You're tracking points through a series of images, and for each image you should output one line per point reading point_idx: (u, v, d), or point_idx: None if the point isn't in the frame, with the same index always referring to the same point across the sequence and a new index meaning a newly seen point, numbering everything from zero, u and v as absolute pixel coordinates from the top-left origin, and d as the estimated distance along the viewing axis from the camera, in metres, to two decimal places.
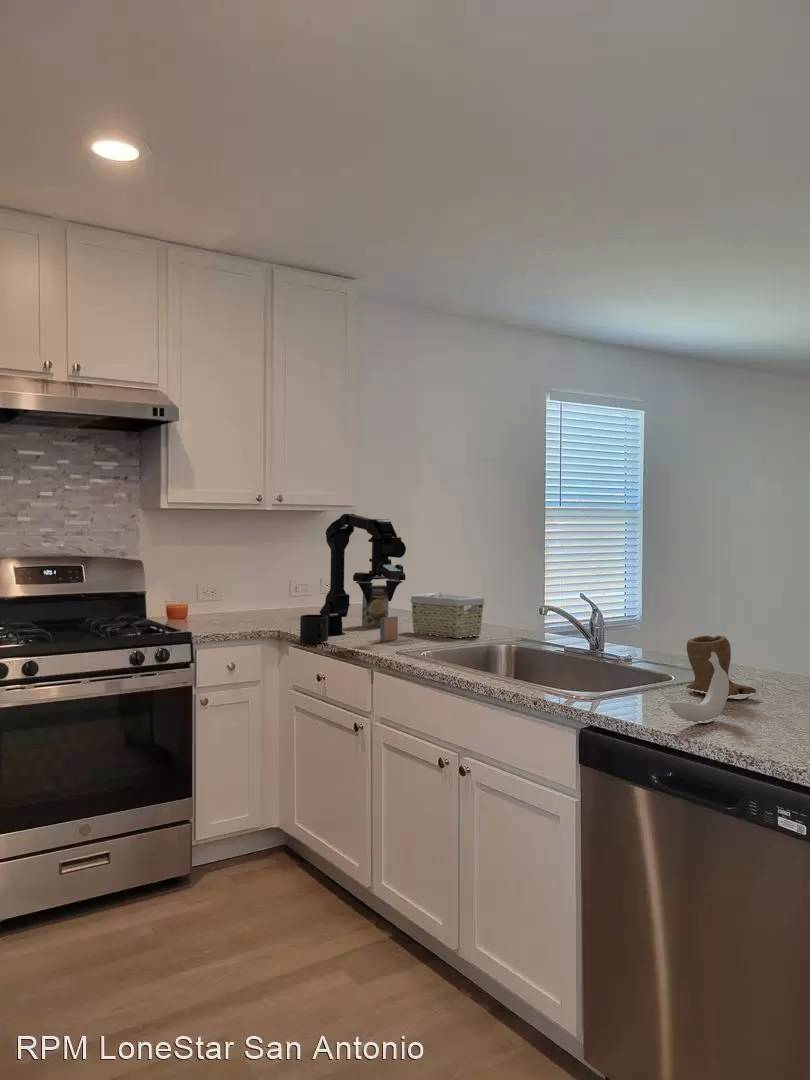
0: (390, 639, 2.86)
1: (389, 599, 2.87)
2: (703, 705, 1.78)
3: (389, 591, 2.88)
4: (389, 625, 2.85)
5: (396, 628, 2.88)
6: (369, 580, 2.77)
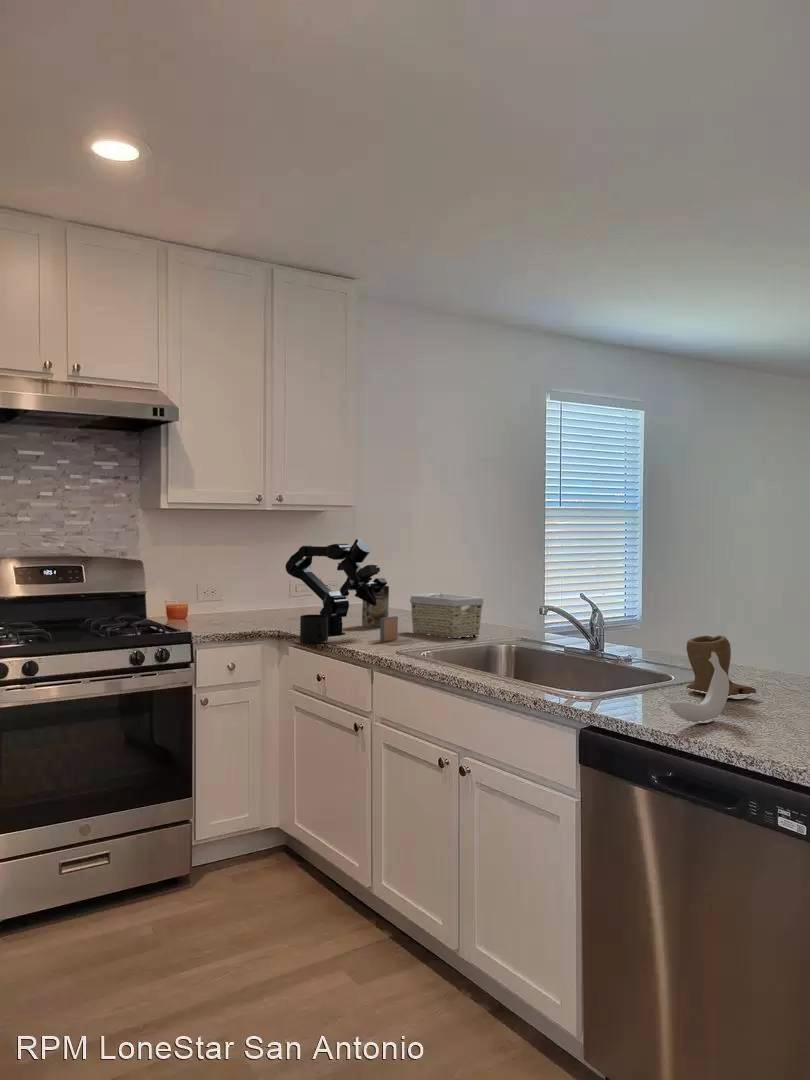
0: (390, 639, 2.86)
1: None
2: (703, 705, 1.78)
3: None
4: (389, 625, 2.85)
5: (396, 628, 2.88)
6: (355, 583, 2.88)
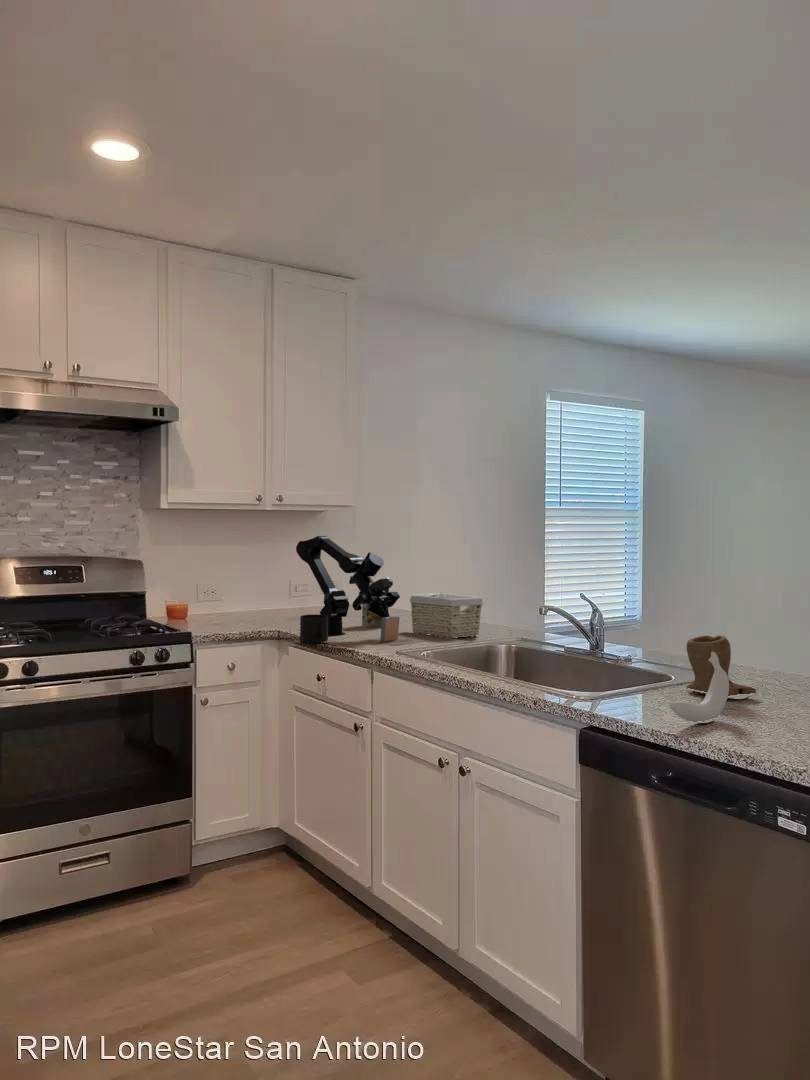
0: (390, 639, 2.86)
1: None
2: (703, 705, 1.78)
3: None
4: (390, 625, 2.85)
5: (397, 628, 2.88)
6: (367, 597, 2.84)
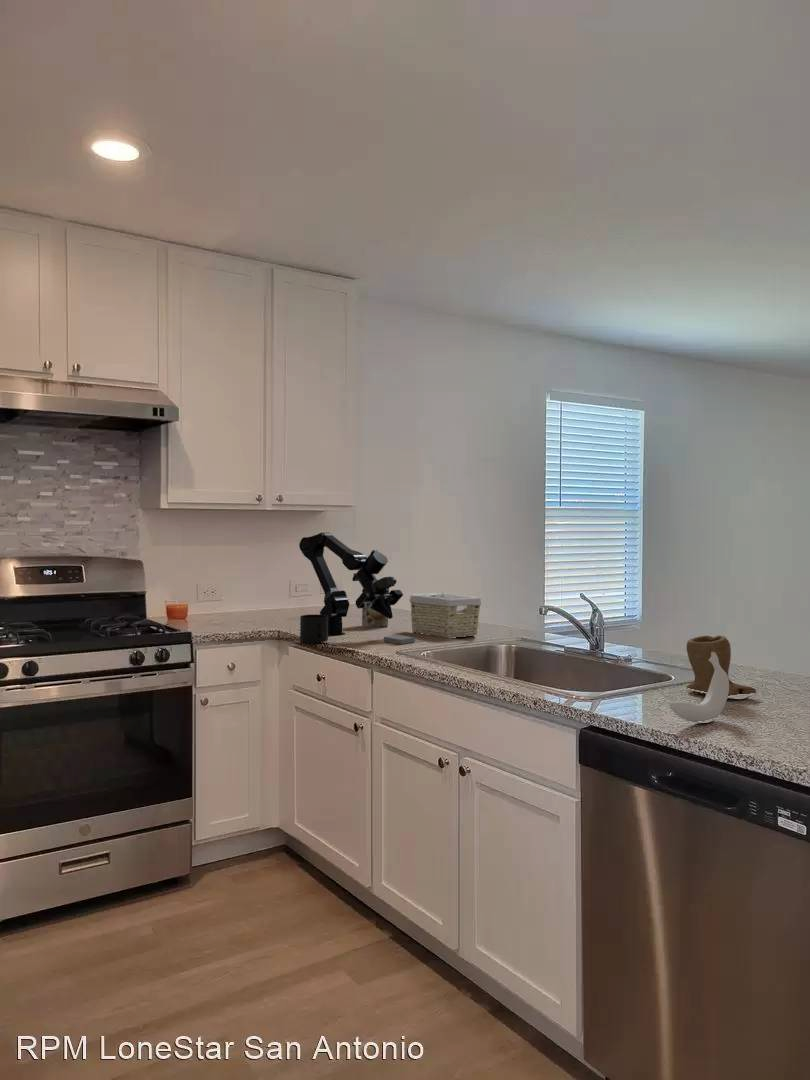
0: None
1: None
2: (703, 705, 1.78)
3: None
4: None
5: None
6: (371, 595, 2.83)
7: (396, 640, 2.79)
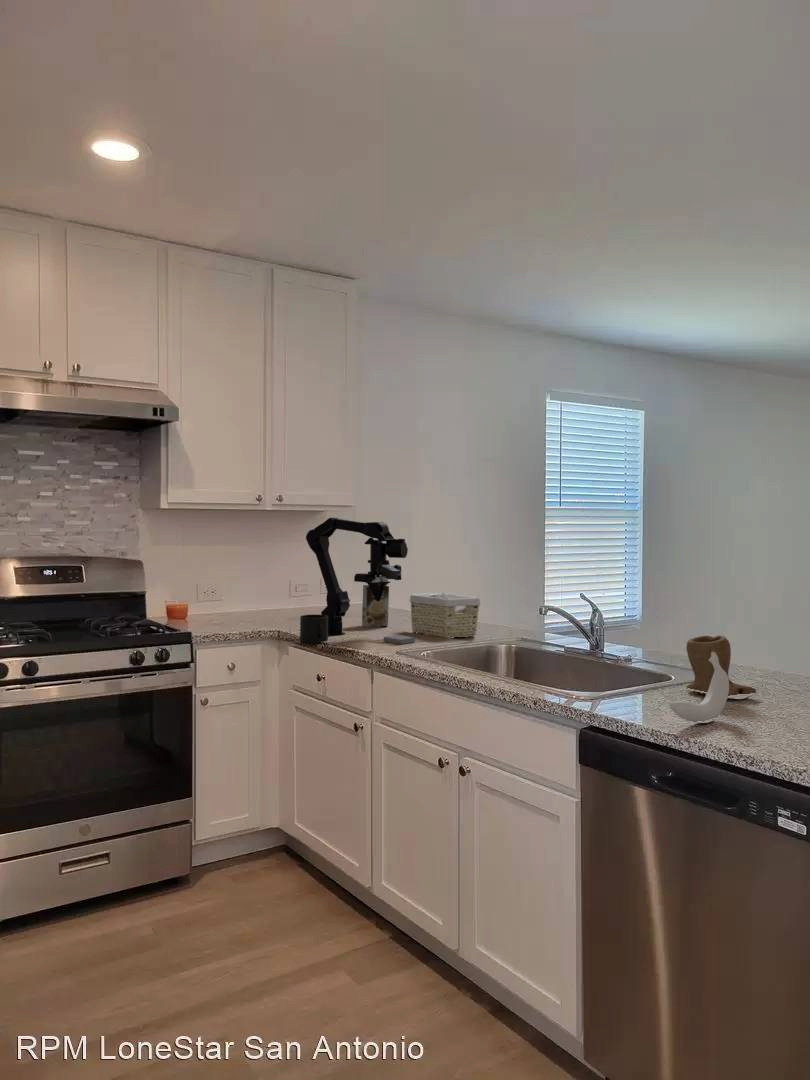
0: None
1: None
2: (703, 705, 1.78)
3: None
4: None
5: None
6: (370, 580, 2.90)
7: (396, 640, 2.79)
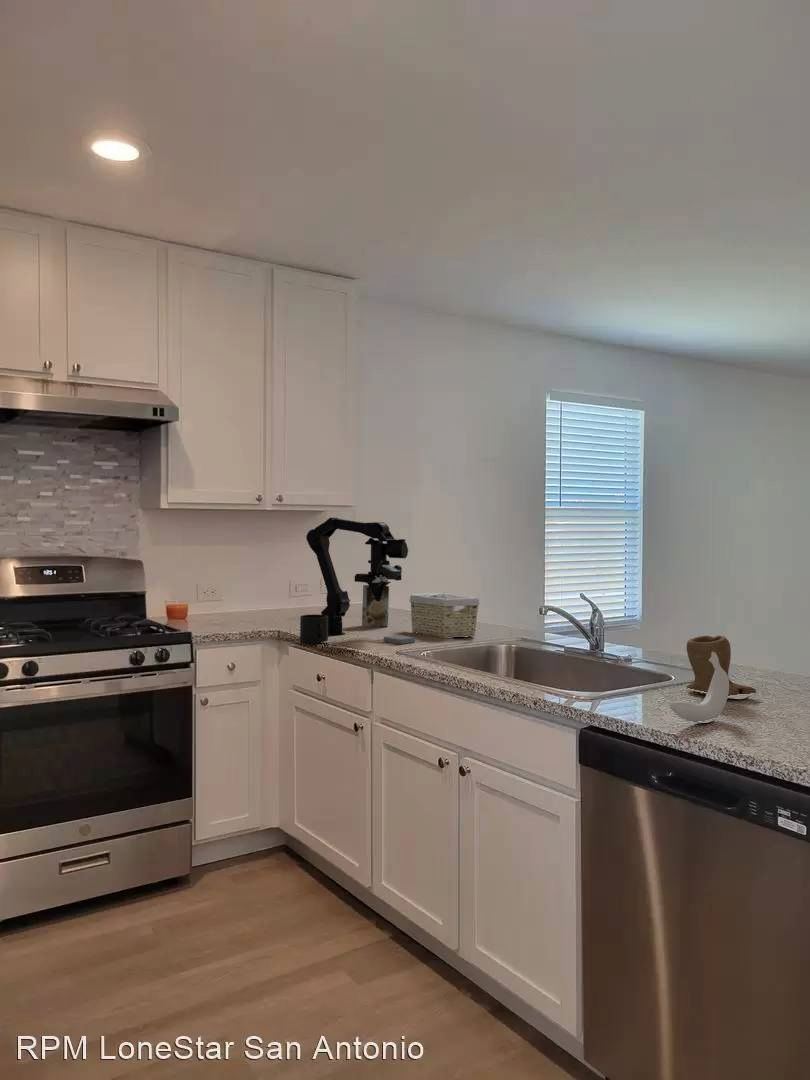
0: None
1: None
2: (703, 705, 1.78)
3: None
4: None
5: None
6: (371, 580, 2.91)
7: (396, 640, 2.79)
